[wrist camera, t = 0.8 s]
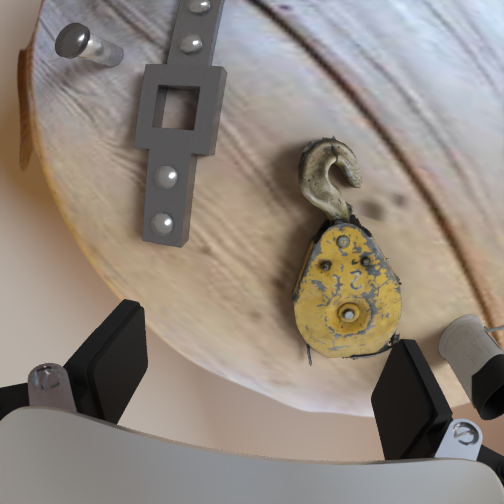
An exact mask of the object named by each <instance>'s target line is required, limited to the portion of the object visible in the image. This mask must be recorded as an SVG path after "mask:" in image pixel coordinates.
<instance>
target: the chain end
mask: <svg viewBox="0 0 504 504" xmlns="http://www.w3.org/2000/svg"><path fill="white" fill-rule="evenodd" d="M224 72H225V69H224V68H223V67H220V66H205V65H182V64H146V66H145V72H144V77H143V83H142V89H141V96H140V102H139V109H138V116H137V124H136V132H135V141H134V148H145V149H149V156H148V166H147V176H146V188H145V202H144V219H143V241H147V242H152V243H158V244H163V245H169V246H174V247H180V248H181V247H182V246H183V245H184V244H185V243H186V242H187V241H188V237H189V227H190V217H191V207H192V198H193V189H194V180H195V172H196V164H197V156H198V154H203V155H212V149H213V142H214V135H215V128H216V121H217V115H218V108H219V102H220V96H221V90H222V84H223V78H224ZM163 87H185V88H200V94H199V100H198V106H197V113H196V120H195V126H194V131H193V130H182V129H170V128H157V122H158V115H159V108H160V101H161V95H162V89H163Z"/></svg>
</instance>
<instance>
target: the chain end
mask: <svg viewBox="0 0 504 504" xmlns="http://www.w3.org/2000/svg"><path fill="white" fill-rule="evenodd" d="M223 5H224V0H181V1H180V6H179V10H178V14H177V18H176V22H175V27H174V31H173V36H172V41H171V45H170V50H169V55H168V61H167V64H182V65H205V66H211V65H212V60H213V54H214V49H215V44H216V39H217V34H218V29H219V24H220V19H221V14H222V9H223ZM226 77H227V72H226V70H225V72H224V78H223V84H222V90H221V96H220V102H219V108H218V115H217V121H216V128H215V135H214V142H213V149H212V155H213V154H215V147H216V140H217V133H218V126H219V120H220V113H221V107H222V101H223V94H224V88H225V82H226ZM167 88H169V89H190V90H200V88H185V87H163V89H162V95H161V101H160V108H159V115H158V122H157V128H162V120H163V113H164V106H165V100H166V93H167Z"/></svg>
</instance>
